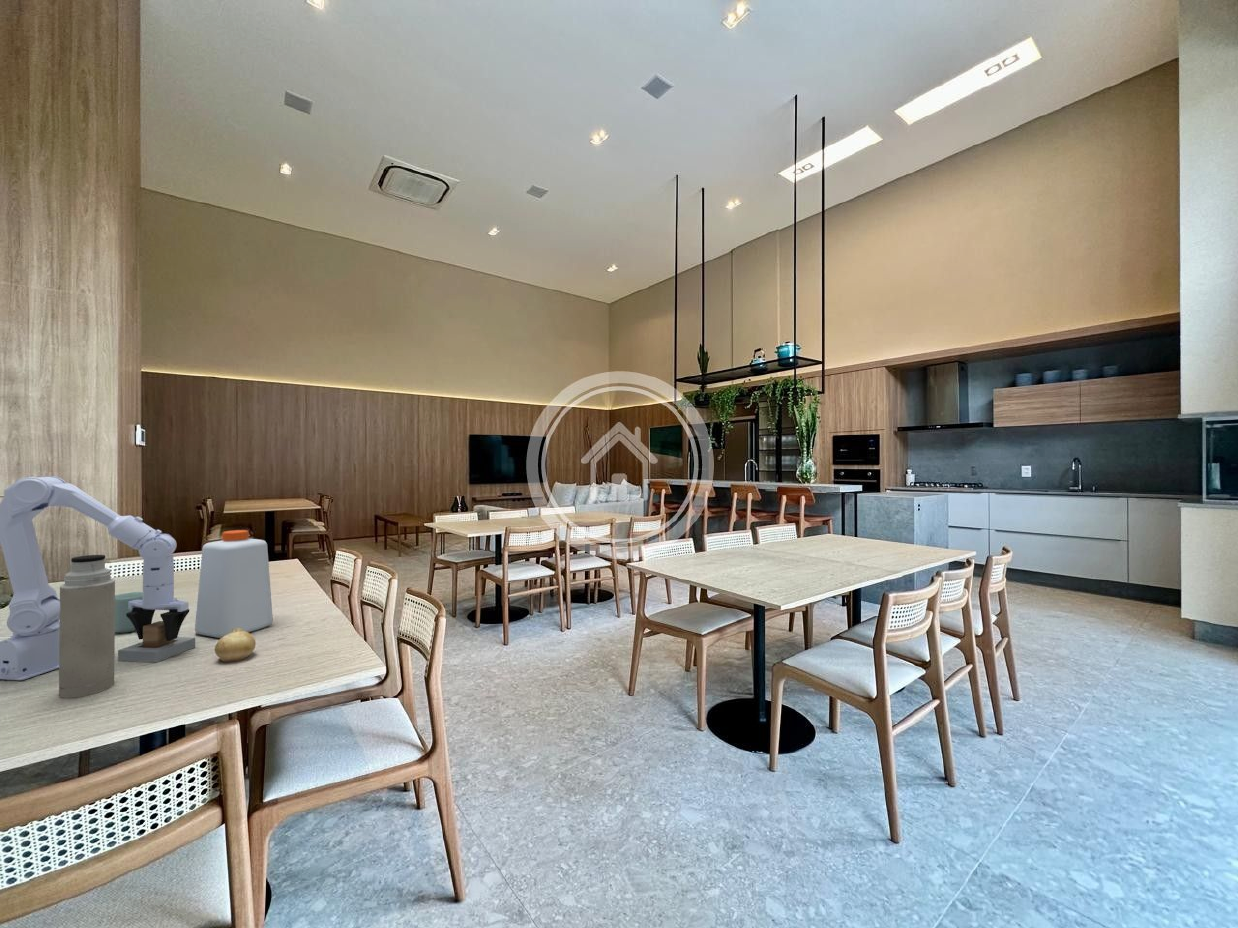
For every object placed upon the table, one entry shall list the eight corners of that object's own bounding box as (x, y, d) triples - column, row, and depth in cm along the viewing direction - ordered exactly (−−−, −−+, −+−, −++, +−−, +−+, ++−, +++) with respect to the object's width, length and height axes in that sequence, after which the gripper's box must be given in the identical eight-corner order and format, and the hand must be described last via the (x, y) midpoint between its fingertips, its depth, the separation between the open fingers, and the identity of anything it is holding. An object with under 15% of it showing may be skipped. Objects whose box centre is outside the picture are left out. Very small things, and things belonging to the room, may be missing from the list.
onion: (263, 654, 125) (263, 625, 125) (231, 666, 118) (231, 636, 117) (239, 650, 127) (239, 622, 127) (206, 662, 120) (206, 633, 120)
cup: (155, 626, 144) (155, 592, 144) (125, 636, 137) (126, 599, 137) (130, 625, 145) (131, 591, 145) (100, 634, 138) (100, 598, 137)
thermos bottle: (57, 690, 105) (58, 556, 104) (111, 677, 111) (112, 551, 111) (60, 701, 100) (61, 561, 99) (116, 688, 106) (117, 555, 106)
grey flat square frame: (155, 662, 119) (155, 652, 119) (117, 660, 120) (118, 650, 120) (195, 647, 129) (195, 637, 129) (160, 645, 130) (160, 635, 130)
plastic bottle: (244, 618, 153) (244, 526, 153) (279, 624, 148) (280, 529, 148) (187, 634, 139) (188, 533, 138) (224, 641, 134) (225, 536, 133)
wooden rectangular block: (157, 655, 122) (157, 626, 122) (142, 654, 123) (142, 626, 123) (173, 649, 126) (173, 621, 126) (159, 648, 127) (159, 620, 127)
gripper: (200, 581, 128) (199, 634, 128) (148, 579, 129) (148, 631, 129) (172, 588, 121) (172, 644, 121) (118, 586, 122) (118, 641, 122)
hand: (158, 638), depth 125 cm, fingers open, 7 cm apart
